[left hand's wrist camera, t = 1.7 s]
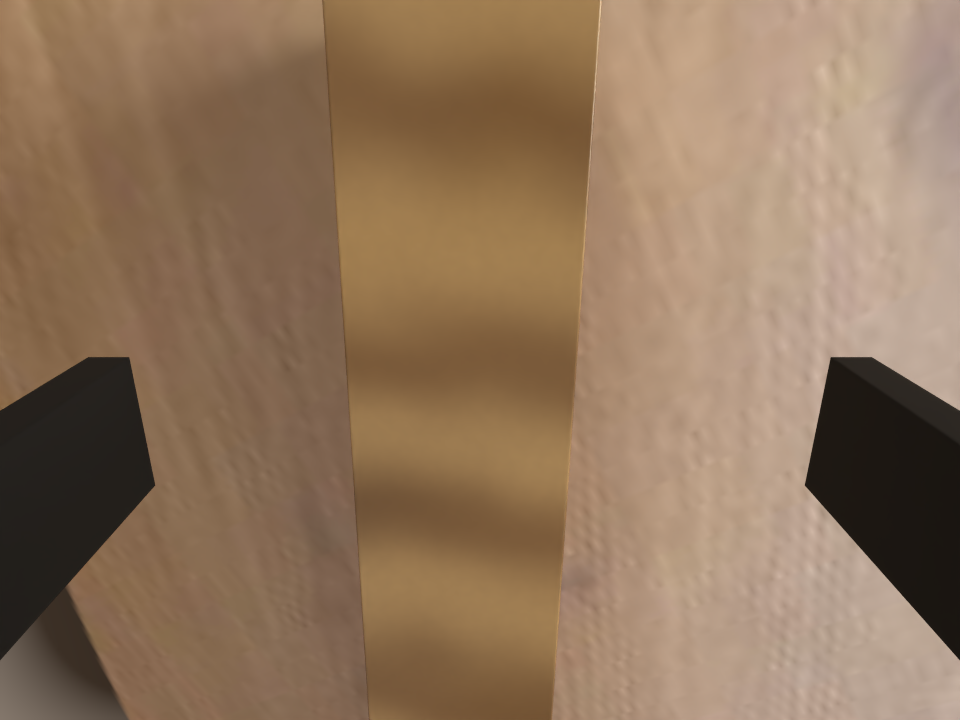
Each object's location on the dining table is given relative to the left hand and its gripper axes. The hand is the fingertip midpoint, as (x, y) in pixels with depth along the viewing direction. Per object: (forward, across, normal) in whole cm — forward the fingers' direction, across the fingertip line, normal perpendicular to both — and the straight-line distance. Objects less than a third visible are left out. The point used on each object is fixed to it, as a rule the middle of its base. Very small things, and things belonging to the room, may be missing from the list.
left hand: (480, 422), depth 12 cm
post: (+12, -1, -22) cm, 25 cm away
